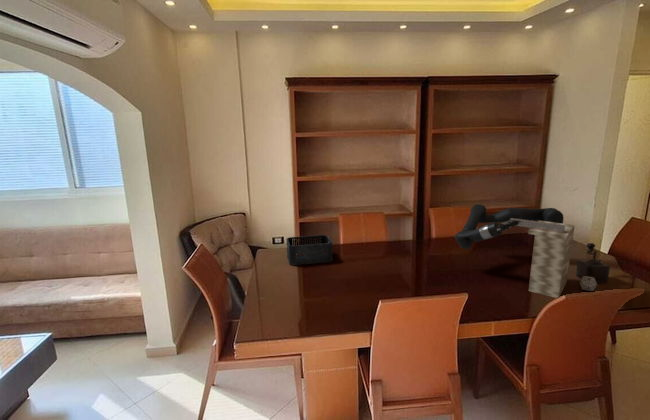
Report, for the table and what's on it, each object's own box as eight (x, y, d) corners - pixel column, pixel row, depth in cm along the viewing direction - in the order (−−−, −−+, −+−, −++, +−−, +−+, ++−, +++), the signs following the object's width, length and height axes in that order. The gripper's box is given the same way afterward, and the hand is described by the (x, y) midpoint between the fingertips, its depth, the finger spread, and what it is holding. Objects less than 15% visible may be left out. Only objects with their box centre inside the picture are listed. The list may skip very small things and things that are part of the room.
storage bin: (327, 252, 244) (326, 233, 241) (333, 262, 226) (333, 242, 223) (286, 256, 238) (285, 237, 235) (289, 266, 220) (288, 246, 217)
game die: (581, 296, 180) (570, 277, 183) (597, 290, 179) (586, 272, 183) (589, 295, 172) (578, 276, 175) (606, 289, 171) (595, 270, 174)
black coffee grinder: (609, 283, 186) (614, 251, 182) (588, 283, 186) (593, 251, 182) (587, 271, 201) (592, 241, 197) (568, 272, 201) (572, 242, 197)
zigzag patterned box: (522, 289, 181) (528, 229, 174) (533, 274, 198) (539, 220, 191) (558, 298, 171) (566, 235, 163) (566, 282, 188) (574, 224, 181)
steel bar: (509, 224, 184) (509, 219, 183) (510, 223, 186) (511, 218, 185) (563, 232, 168) (564, 226, 167) (564, 231, 170) (565, 225, 170)
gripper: (483, 227, 188) (513, 216, 177) (491, 222, 198) (520, 211, 187) (489, 240, 187) (519, 230, 176) (497, 234, 197) (527, 224, 186)
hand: (520, 220), depth 181 cm, fingers open, 8 cm apart
